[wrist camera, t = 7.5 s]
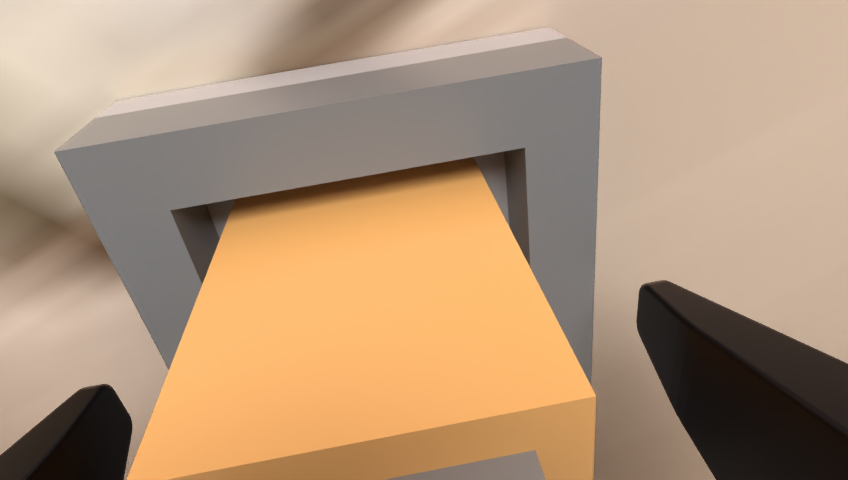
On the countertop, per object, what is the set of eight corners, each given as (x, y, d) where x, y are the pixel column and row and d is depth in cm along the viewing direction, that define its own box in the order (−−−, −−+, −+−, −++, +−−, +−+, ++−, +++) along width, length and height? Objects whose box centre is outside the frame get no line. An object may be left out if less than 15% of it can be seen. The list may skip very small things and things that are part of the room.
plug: (489, 332, 13) (605, 674, 7) (298, 368, 12) (258, 747, 7) (471, 153, 10) (624, 450, 5) (236, 195, 10) (98, 553, 4)
